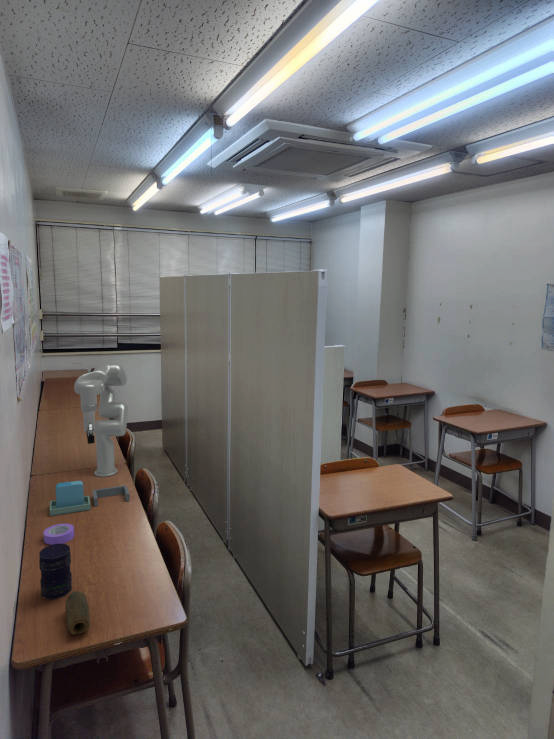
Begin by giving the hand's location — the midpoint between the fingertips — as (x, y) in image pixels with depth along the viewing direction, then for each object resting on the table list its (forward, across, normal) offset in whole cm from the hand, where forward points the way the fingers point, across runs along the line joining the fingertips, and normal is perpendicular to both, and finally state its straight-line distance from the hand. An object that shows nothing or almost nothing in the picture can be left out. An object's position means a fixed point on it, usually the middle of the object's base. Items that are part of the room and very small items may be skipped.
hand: (90, 440), depth 238 cm
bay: (+29, +10, +8) cm, 32 cm away
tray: (+29, +14, -11) cm, 34 cm away
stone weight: (+26, +101, -10) cm, 104 cm away
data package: (+28, +14, -11) cm, 33 cm away
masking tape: (+28, +42, -16) cm, 53 cm away
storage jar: (+27, +81, -16) cm, 87 cm away
